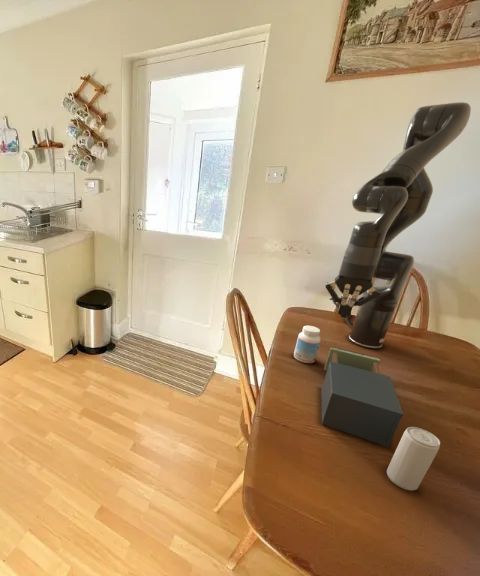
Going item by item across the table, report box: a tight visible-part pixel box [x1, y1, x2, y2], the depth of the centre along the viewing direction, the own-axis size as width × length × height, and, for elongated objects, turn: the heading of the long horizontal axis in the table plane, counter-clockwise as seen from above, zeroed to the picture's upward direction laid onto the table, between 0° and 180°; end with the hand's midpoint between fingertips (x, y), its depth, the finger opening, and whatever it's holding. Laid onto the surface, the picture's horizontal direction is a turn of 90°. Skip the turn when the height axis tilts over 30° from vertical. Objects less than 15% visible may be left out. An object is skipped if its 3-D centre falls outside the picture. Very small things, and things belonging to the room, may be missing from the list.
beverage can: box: [386, 426, 441, 491], centre depth 61 cm, size 5×5×12 cm
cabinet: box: [320, 361, 404, 448], centre depth 78 cm, size 16×13×10 cm
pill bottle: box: [293, 325, 322, 364], centre depth 102 cm, size 6×6×11 cm
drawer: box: [323, 347, 382, 374], centre depth 89 cm, size 20×11×8 cm, turn 146°
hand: (342, 316), depth 93 cm, fingers closed
